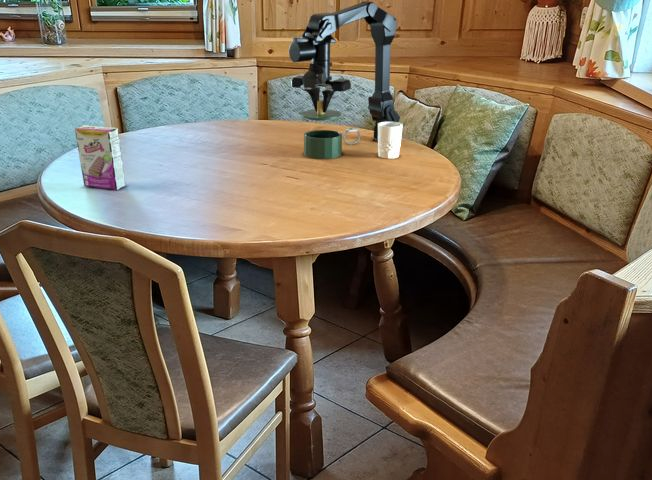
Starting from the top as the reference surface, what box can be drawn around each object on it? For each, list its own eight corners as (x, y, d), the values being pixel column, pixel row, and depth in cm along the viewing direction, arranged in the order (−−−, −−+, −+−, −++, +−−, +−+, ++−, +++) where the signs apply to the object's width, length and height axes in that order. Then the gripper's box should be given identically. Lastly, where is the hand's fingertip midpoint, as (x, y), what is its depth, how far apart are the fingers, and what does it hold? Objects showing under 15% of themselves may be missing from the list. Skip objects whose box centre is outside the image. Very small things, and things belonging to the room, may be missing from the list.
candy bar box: (83, 187, 208) (73, 128, 199) (93, 182, 212) (83, 124, 203) (117, 190, 205) (108, 131, 196) (126, 186, 209) (118, 127, 200)
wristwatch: (358, 142, 252) (358, 127, 249) (361, 144, 250) (361, 129, 247) (341, 143, 250) (341, 128, 248) (344, 145, 248) (344, 130, 245)
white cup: (373, 157, 234) (374, 125, 229) (380, 152, 240) (382, 120, 235) (396, 160, 231) (398, 127, 226) (403, 154, 237) (405, 122, 232)
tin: (347, 152, 240) (348, 132, 237) (330, 160, 231) (330, 140, 228) (315, 148, 245) (315, 128, 242) (297, 156, 236) (297, 136, 233)
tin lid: (348, 115, 236) (348, 98, 233) (329, 123, 226) (329, 106, 224) (312, 111, 242) (312, 95, 239) (292, 119, 232) (292, 102, 229)
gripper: (281, 61, 223) (283, 114, 231) (335, 65, 215) (335, 119, 223) (299, 56, 231) (300, 107, 239) (352, 60, 223) (350, 112, 232)
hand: (320, 112), depth 233 cm, fingers closed on tin lid, 2 cm apart
